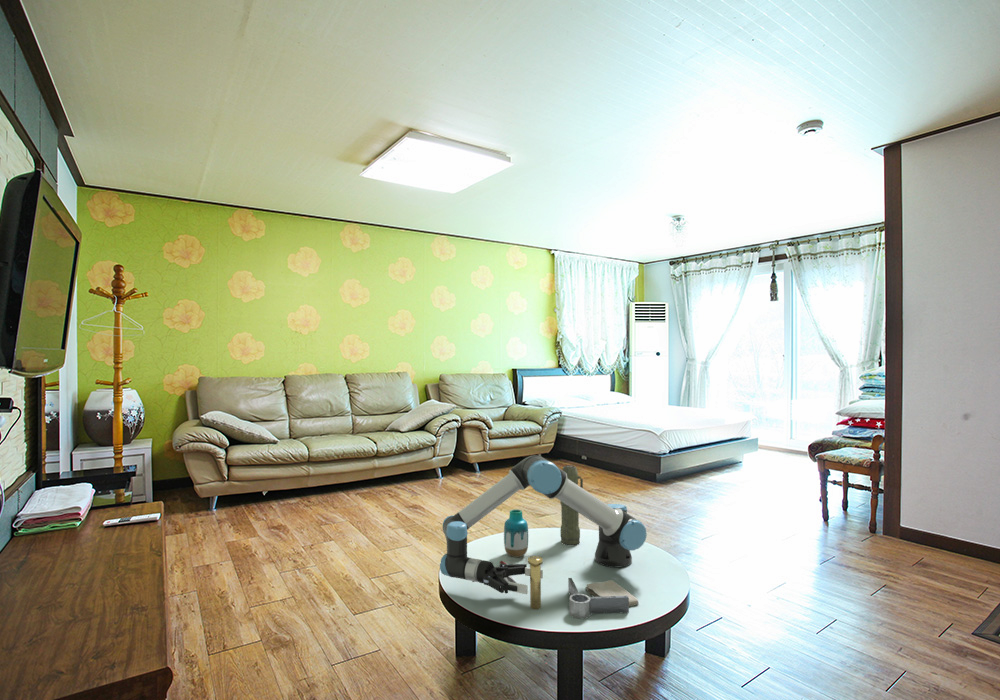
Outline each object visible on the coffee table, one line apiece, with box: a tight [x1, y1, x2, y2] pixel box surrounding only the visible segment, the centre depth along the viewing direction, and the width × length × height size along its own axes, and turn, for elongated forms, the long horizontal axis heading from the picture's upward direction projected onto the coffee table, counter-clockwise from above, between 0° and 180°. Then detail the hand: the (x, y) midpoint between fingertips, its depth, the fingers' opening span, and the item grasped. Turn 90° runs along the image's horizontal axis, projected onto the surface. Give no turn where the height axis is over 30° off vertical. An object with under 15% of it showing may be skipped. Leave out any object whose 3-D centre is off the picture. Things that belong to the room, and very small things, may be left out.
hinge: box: [567, 577, 630, 620], centre depth 178 cm, size 20×20×5 cm
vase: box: [503, 508, 529, 558], centre depth 223 cm, size 11×11×19 cm
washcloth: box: [585, 579, 639, 607], centre depth 183 cm, size 12×18×3 cm, turn 21°
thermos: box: [559, 464, 584, 546], centre depth 239 cm, size 9×12×35 cm
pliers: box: [499, 560, 517, 584], centre depth 202 cm, size 12×20×3 cm, turn 26°
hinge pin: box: [527, 555, 544, 610], centre depth 177 cm, size 5×5×16 cm
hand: (535, 581), depth 176 cm, fingers open, 13 cm apart
